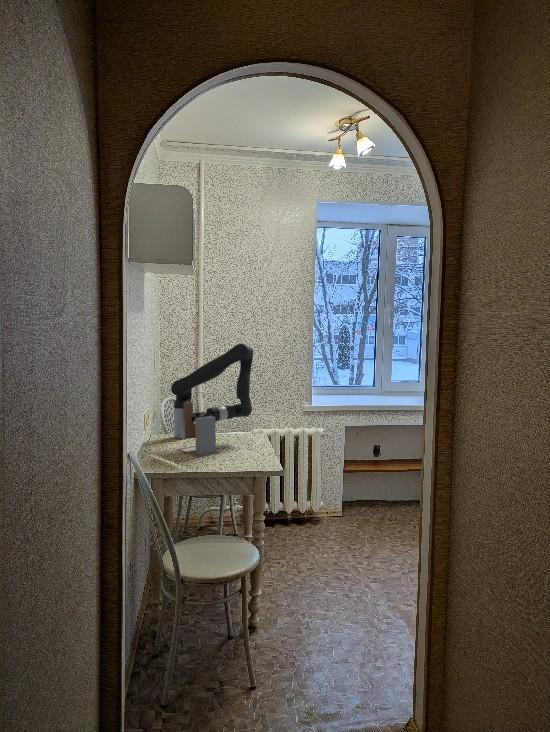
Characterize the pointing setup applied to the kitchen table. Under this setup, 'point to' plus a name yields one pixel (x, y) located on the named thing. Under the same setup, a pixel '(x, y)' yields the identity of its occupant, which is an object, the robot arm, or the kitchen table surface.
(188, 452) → the base board
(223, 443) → the kitchen table surface
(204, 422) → the slate post
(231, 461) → the kitchen table surface
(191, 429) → the wooden block
